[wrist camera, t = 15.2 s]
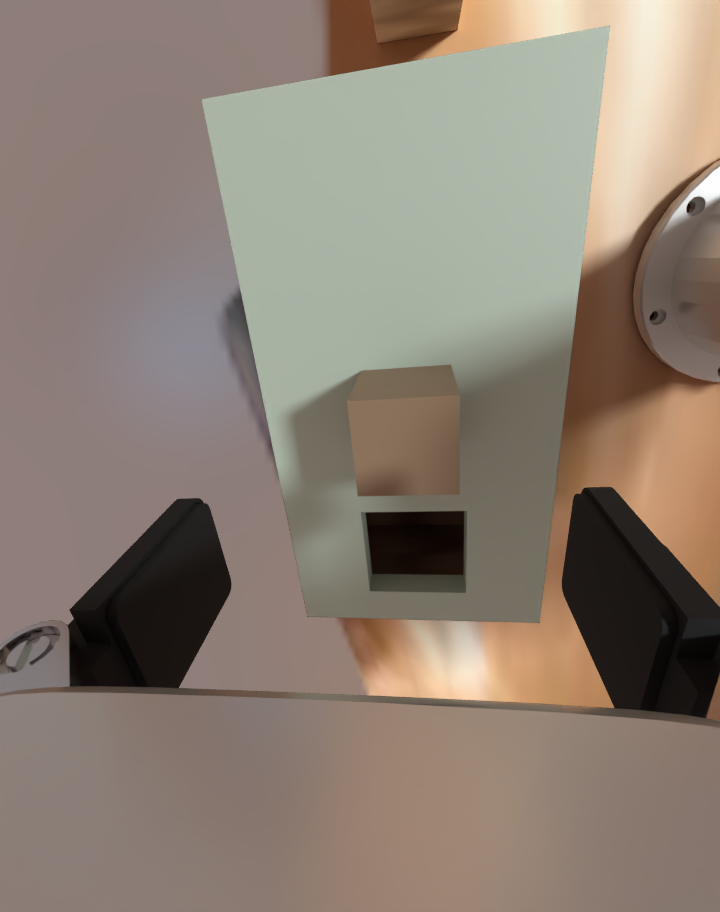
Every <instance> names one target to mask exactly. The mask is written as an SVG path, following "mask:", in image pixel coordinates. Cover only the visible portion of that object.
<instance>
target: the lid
mask: <svg viewBox="0 0 720 912" xmlns="http://www.w3.org/2000/svg"><path fill="white" fill-rule="evenodd" d="M609 29H610V26H605V27H599V28H594V29H588V30H583V31H577V32H572V33H566V34H561V35H555V36H549V37H544V38H538V39H533V40H527V41H522V42H516V43H511V44H505V45H499V46H494V47H488V48H483V49H477V50H472V51H466V52H461V53H455V54H449V55H444V56H438V57H433V58H427V59H422V60H416V61H411V62H405V63H399V64H394V65H388V66H383V67H377V68H372V69H366V70H361V71H355V72H349V73H344V74H338V75H333V76H327V77H322V78H316V79H311V80H305V81H299V82H294V83H288V84H283V85H277V86H272V87H266V88H261V89H255V90H249V91H244V92H238V93H233V94H227V95H222V96H217V97H211V98H206V99H202V105H203V110H204V114H205V119H206V124H207V129H208V134H209V139H210V144H211V149H212V153H213V158H214V163H215V168H216V173H217V178H218V183H219V187H220V193H221V197H222V202H223V207H224V212H225V217H226V222H227V226H228V232H229V236H230V242H231V246H232V251H233V256H234V261H235V265H236V271H237V276H238V281H239V286H240V290H241V295H242V300H243V305H244V310H245V315H246V320H247V325H248V329H249V334H250V339H251V344H252V349H253V354H254V359H255V364H256V369H257V373H258V378H259V383H260V388H261V393H262V398H263V403H264V408H265V412H266V417H267V422H268V427H269V432H270V437H271V442H272V447H273V452H274V456H275V461H276V466H277V471H278V476H279V481H280V486H281V491H282V495H283V500H284V505H285V510H286V515H287V520H288V525H289V529H290V535H291V539H292V544H293V549H294V554H295V559H296V564H297V569H298V573H299V578H300V583H301V588H302V593H303V597H304V603H305V608H306V613H307V617H337V618H375V619H412V620H450V621H487V622H525V623H540V615H541V606H542V598H543V589H544V581H545V572H546V564H547V555H548V547H549V538H550V530H551V521H552V513H553V504H554V496H555V487H556V479H557V470H558V462H559V453H560V445H561V436H562V428H563V420H564V411H565V403H566V394H567V386H568V377H569V369H570V360H571V352H572V343H573V335H574V326H575V318H576V309H577V301H578V292H579V284H580V275H581V267H582V258H583V250H584V241H585V233H586V224H587V216H588V207H589V199H590V191H591V182H592V174H593V165H594V157H595V148H596V140H597V131H598V123H599V114H600V106H601V97H602V89H603V80H604V72H605V63H606V55H607V46H608V38H609ZM423 511H464V571H463V575H409V574H372V567H371V558H370V549H369V540H368V530H367V521H366V512H423Z"/></svg>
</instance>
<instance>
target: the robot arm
mask: <svg viewBox="0 0 720 912" xmlns="http://www.w3.org/2000/svg"><path fill="white" fill-rule="evenodd" d="M688 203H689V204H690V210H689V211H688V212H686V208H687V205H688ZM633 303H634V315H635V319H636V322H637V326H638V329H639V332H640V335H641V336H642V338H643V340H644V341H645V343H646V345H647V346H648V348H649V349H650V351H651V352H652V353H654V354H655V355H656V356H657V357H658V358H659V359H660V360H661V361H662V362H663V363H665V364H666V365H668V366H670V367H672V368H673V369H675V370H677V371H679V372H681V373H684V374H686V375H689V376H691V377H693V378H697V379H702V380H706V381H711V382H720V160H719V161H717V162H715V163H714V164H713V165H711V166H710V167H709V168H708V169H707V170H705V171H704V172H703V173H702V174H701V175H699V176H698V177H697V178H696V179H694V180H693V181H692V182H691V183H690V184H689V185H688V186H687V187H686V188H685V189H684V190H683V191H682V192H681V194H680V195H679V196H678V197H677V198H676V199H675V200H674V201H673V202H672V203H671V204H670V206H669V207H668V209H667V210H666V212H665V213H664V214H663V216H662V217H661V219H660V220H659V222H658V223H657V225H656V226H655V227H654V229H653V231H652V233H651V235H650V237H649V240H648V242H647V244H646V246H645V248H644V250H643V252H642V255H641V258H640V262H639V265H638V268H637V271H636V275H635V283H634V292H633ZM652 312H654V316H653V318H651V319H650V315H651V314H652ZM230 590H231V579H230V575H229V572H228V568H227V565H226V562H225V558H224V555H223V552H222V548H221V545H220V541H219V538H218V534H217V531H216V527H215V524H214V521H213V517H212V514H211V511H210V508H209V506H208V505H207V504H206V503H205V504H204V503H203V501H202V500H201V499H199V498H192V499H177V500H176V501H175V502H174V503H173V504H172V505H171V506H170V507H169V508H168V509H167V510H166V511H165V512H164V513H163V514H162V515H161V516H160V517H159V518H158V519H157V520H156V521H155V522H154V523H153V524H152V525H151V526H150V528H148V529H147V531H146V532H145V533H144V534H143V535H142V536H141V537H140V538H139V539H138V540H137V541H136V542H135V543H134V544H133V545H132V546H131V547H130V548H129V549H128V550H127V551H126V552H125V553H124V554H123V555H122V556H121V558H119V559H118V560H117V562H116V563H115V564H114V565H113V566H112V567H111V568H110V569H109V570H108V571H107V572H106V573H105V574H104V575H103V576H102V577H101V578H100V579H99V580H98V581H97V582H96V583H95V584H94V585H93V586H92V587H91V588H90V589H89V590H88V591H87V593H85V594H84V596H83V597H81V599H80V600H79V601H78V602H77V603H76V604H75V605H74V606H73V607H72V608H71V609H70V612H71V614H72V616H73V617H74V620H73V621H72V622H71V623H70V624H69V625H68V626H67V624H65V623H64V622H62V621H56V620H51V621H44V622H40V623H37V624H34V625H31V626H29V627H26V628H25V629H22V630H20V631H19V632H16V633H15V634H13V635H12V636H11V637H9V638H7V639H6V640H4V641H3V642H2V643H1V644H0V912H720V607H719V606H718V605H717V604H716V603H715V602H714V600H713V599H712V598H711V597H710V596H709V595H708V594H707V592H706V591H705V590H704V589H703V588H702V587H701V586H700V585H699V583H698V582H697V581H696V580H695V579H694V578H693V577H692V575H691V574H690V573H689V572H688V571H687V570H686V569H685V568H684V566H683V565H682V564H681V563H680V562H679V561H678V560H677V558H676V557H675V556H674V555H673V554H672V553H671V552H670V551H669V549H668V548H667V547H666V546H664V545H663V544H662V543H661V542H660V541H659V540H658V539H657V538H656V536H655V535H654V534H653V533H652V532H651V531H650V530H649V528H648V527H647V526H646V525H645V524H644V523H643V522H642V520H641V519H640V518H639V517H638V516H637V515H636V514H635V512H634V511H633V510H632V509H631V508H630V507H629V506H628V504H627V503H626V502H625V501H624V500H623V499H622V498H621V497H620V495H619V494H618V493H617V492H616V491H615V490H614V489H613V488H612V487H592V488H584V489H583V490H582V492H581V494H576V495H575V496H574V499H573V505H572V512H571V519H570V527H569V534H568V541H567V548H566V555H565V562H564V570H563V577H562V590H563V594H564V597H565V599H566V601H567V604H568V606H569V608H570V610H571V612H572V615H573V617H574V619H575V621H576V624H577V626H578V628H579V630H580V632H581V635H582V637H583V639H584V641H585V643H586V646H587V648H588V650H589V652H590V655H591V657H592V659H593V661H594V663H595V666H596V668H597V670H598V672H599V674H600V677H601V679H602V681H603V683H604V685H605V688H606V690H607V692H608V694H609V697H610V699H611V701H612V703H613V705H614V708H602V707H586V706H571V705H555V704H539V703H518V702H497V701H476V700H455V699H434V698H413V697H390V696H367V695H344V694H320V693H296V692H294V693H293V692H270V691H244V690H216V689H189V688H187V689H186V688H179V686H180V684H181V682H182V681H183V679H184V677H185V675H186V673H187V671H188V670H189V668H190V666H191V664H192V662H193V660H194V658H195V657H196V655H197V653H198V651H199V649H200V647H201V646H202V644H203V642H204V640H205V638H206V636H207V634H208V633H209V631H210V628H211V627H212V625H213V623H214V621H215V620H216V618H217V616H218V614H219V612H220V610H221V609H222V607H223V605H224V603H225V601H226V599H227V597H228V596H229V593H230Z"/></svg>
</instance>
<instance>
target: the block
mask: <svg viewBox="0 0 720 912" xmlns="http://www.w3.org/2000/svg"><path fill="white" fill-rule="evenodd" d="M462 1H463V0H369V2H370V7H371V12H372V18H373V23H374V28H375V33H376V39H377V44H378V43H384V42H390V41H396V40H401V39H407V38H413V37H419V36H425V35H431V34H436V33H442V32H448V31H454V30H457V29H458V23H459V18H460V12H461V6H462Z"/></svg>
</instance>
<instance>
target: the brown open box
mask: <svg viewBox="0 0 720 912" xmlns="http://www.w3.org/2000/svg"><path fill="white" fill-rule="evenodd" d="M366 521H367V530H368V540H369V549H370V558H371V567H372V574H409V575H463V571H464V511H423V512H366Z"/></svg>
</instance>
